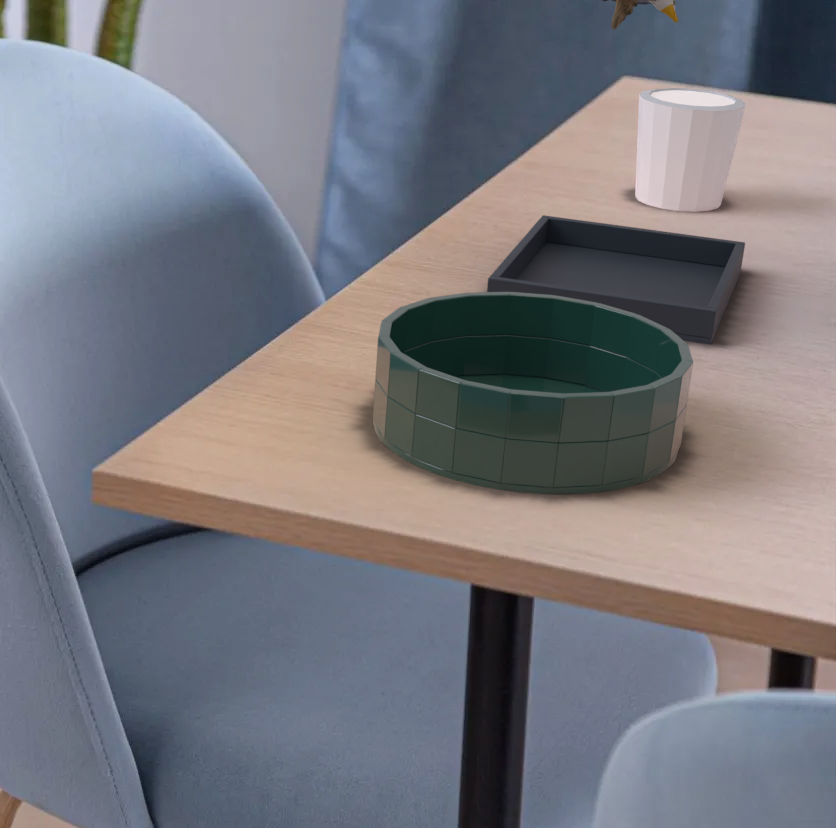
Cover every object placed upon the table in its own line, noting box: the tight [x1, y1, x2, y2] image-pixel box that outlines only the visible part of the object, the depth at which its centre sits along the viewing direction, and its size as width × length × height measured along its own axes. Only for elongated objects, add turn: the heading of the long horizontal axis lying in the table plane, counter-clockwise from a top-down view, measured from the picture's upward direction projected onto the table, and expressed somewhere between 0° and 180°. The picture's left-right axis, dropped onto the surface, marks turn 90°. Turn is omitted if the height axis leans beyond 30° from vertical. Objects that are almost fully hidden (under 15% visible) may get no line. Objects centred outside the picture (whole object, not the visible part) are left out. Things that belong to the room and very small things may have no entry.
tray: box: [486, 214, 746, 346], centre depth 98 cm, size 14×12×2 cm
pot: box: [372, 291, 694, 495], centre depth 78 cm, size 14×14×4 cm
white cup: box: [634, 87, 747, 213], centre depth 116 cm, size 7×7×7 cm
